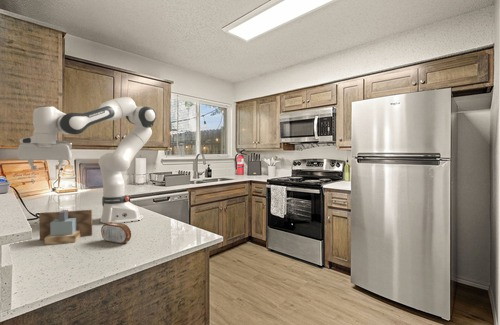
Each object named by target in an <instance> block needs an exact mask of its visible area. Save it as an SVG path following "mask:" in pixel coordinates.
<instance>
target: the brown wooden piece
mask: <svg viewBox="0 0 500 325" xmlns="http://www.w3.org/2000/svg"><path fill="white" fill-rule="evenodd" d="M59 212H60V211H49V212H40V213H39V214H38V216H39V219H38V220H39V227H38V228H39V241H44V246H49V245H58V244H59V245H60V244H70V243H76V242H77V241H78V240H79V238H81V237H87V236H89V237H90V236H93V209H82V210H68V218H76V231H75V232H74V233H73V234H72V235H60V236H51V235H50V222H52V221H53V220H55V219H59Z"/></svg>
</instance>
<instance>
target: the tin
mask: <svg viewBox="0 0 500 325" xmlns="http://www.w3.org/2000/svg"><path fill="white" fill-rule="evenodd" d="M100 232H101V237H102V239H103V240H104V241H105V242H108V243H115V244H119V245H122V244H125V243H128V242H129V241H130V240H131V238H132V231H131V229H130V228H129V226H128V224H125V223H114V222H109V223H103V225H102V226H101V229H100Z"/></svg>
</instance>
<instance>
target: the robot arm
mask: <svg viewBox="0 0 500 325" xmlns="http://www.w3.org/2000/svg"><path fill="white" fill-rule="evenodd" d="M122 118H125V119H126V120H127V122H129V123H130V124H132V125H134V127H133V129H132V130H131V131H130V132H128V134H126V136H125V137H123V138H122V139H121V141H120V142H119V144H118V146H117V148H116V149H115V150H114V151H113V152H108V153H104V154H102V155H101V156H100V157H99V159H98V163H97V164H98V165H99V168H100V176H101V178H102V193H103V195H102V197H101V198H102V199H101V202H102V203H101V204H102V213H101V217H100V220H99V221H100V223H101V224H102V223H103V224H107V223H109V222H114V223H121V224H125V223H132V222H131V221H133V222H139V221H138V220H140V221H142V220H143V219H144V215H143V214H142V213H140V210H139V208H138V206H137V205H135V204H134V203H132V202H130V196H129V195H127V194H126V186H125V184H126V182H125V179H124V177H123V174H122V173H123V172H126V171H127V170H128V169H129V168H130V166H131V163H132V161H133V159H134V158H135V156H136V155H137V154H138V152H139V151H141V149H142V148H143V147H144V146H145V145H146V143H147V142H148V141H149V139H150V138H151V136H152V135H153V131H152V130H153V129H151V128H152V127H153V126H154V124H155V121H156V119H157V112H156V111H155V109H154V108H152V107H149V106H137V105H136V102H135V100H133V98H132V97H129V96H124V97H122V96H121V97H116V98H112V99H109V100H107V101H104V102H102V103H101V104H100V105H99V106H98V108H96V109H94V110H93V109H92V110H89V111H86V112H84V113H79V112H68V113H65V112H62V111H61V110H59V109H57V108H56V106H53V105H41V106H37V107H35V108H34V110H33V114H32V125H33V132H32V136H31V135H30V136H28V137H27V136H26V137H23V138H20V139H19V143H20V144H19V145H18V148H17V154H16V155H17V159H18V160H20V161H21V160H22V161H27V163H28V164H29V166H30V170H33V171H34V170H37V165H34V161H39V160H40V161H41V160H42V161H43V160H44V161H45V160H46V161H50V160H52V161H54V160H55V161H58V165H55V170H61V167H62V165H63V163H64V161H65V160H66V161H70V160H72V158H73V154H72V148H73V144H72V142H70V141H68V140H58V134H61V135H79V134H82V133H84V131H86V130H87V129H88V128H89V127H91V126H92V125H95V124H98V123H100V122H103V121H108V122H110V121H117V120H120V119H122ZM142 218H143V219H142ZM141 219H142V220H141ZM124 222H125V223H124Z"/></svg>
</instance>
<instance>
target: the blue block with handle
mask: <svg viewBox="0 0 500 325" xmlns="http://www.w3.org/2000/svg"><path fill="white" fill-rule="evenodd" d="M68 211H69V210H68V209H63V210H61V211H58V212H59V219H55V220H53V221H52V222H50V235H51V236H60V235H72V234H73V233H74V232H75V231H76V218H68Z"/></svg>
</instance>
